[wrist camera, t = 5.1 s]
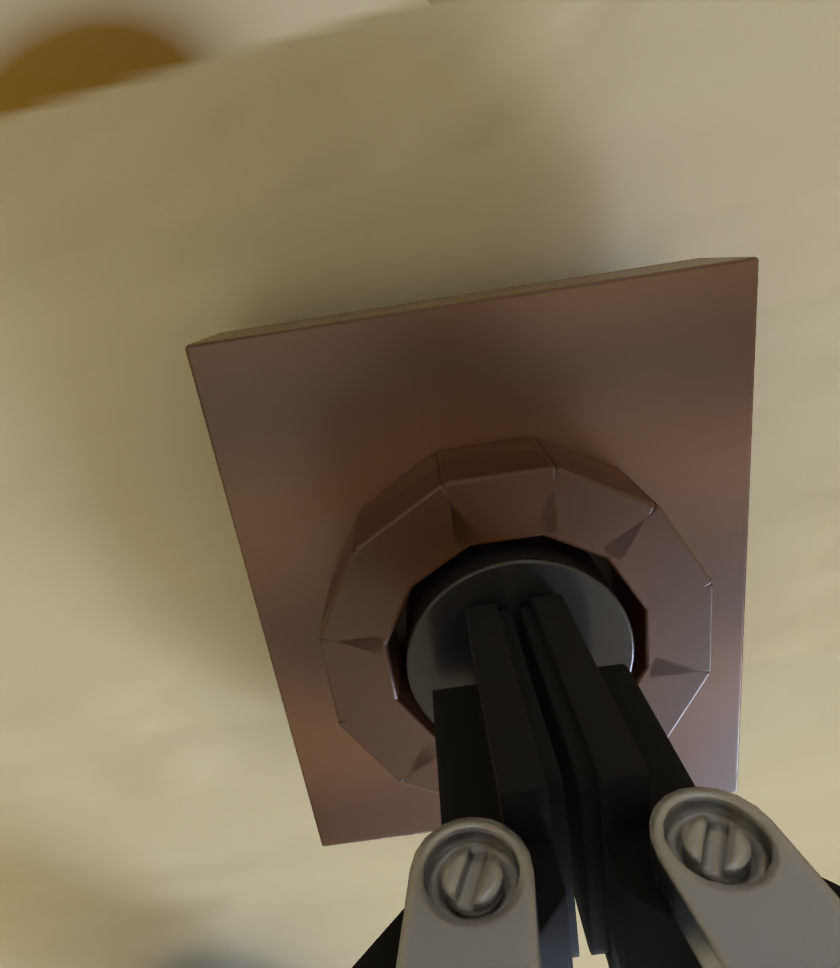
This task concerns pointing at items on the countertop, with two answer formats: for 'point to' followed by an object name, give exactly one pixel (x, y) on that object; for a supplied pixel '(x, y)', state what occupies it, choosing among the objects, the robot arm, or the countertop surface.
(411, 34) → the countertop surface
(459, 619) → the button
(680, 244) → the countertop surface
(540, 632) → the robot arm
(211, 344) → the button box
